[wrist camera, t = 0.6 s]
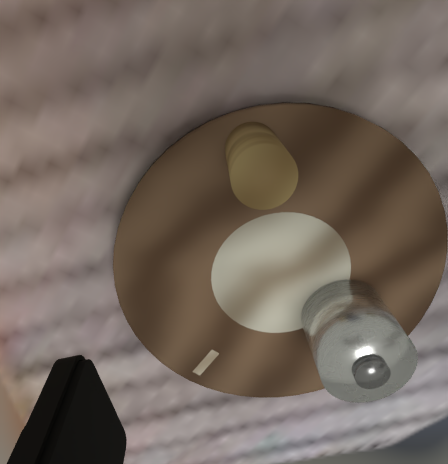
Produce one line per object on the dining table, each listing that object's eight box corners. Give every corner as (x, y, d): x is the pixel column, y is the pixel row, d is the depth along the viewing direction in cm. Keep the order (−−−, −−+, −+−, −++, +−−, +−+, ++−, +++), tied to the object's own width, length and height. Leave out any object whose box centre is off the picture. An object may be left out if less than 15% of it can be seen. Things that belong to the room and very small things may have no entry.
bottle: (399, 305, 33) (444, 364, 27) (343, 357, 35) (373, 424, 29) (339, 265, 31) (372, 319, 25) (284, 323, 33) (302, 387, 27)
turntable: (506, 231, 32) (590, 283, 25) (298, 423, 40) (317, 503, 33) (246, 16, 25) (262, 5, 18) (58, 305, 33) (20, 375, 26)
